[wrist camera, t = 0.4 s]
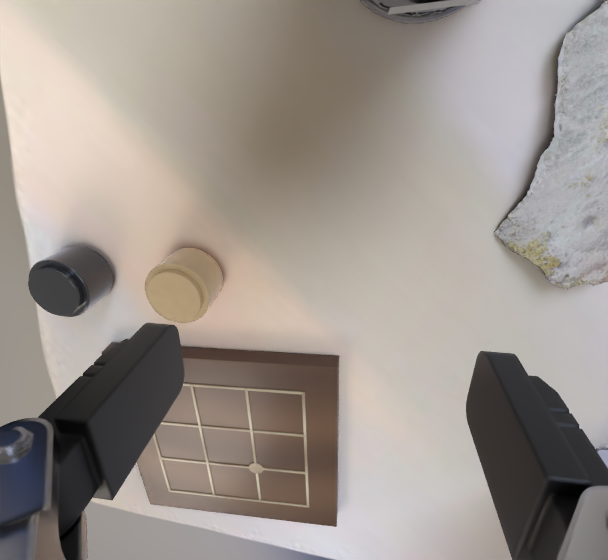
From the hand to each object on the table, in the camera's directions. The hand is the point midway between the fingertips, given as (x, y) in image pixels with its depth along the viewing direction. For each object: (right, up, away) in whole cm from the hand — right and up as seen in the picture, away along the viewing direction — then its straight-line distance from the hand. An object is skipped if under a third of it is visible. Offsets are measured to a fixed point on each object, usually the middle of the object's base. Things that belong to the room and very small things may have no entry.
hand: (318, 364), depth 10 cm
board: (-7, -13, +26) cm, 30 cm away
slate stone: (-18, +3, +20) cm, 27 cm away
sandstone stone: (-9, +3, +19) cm, 21 cm away
